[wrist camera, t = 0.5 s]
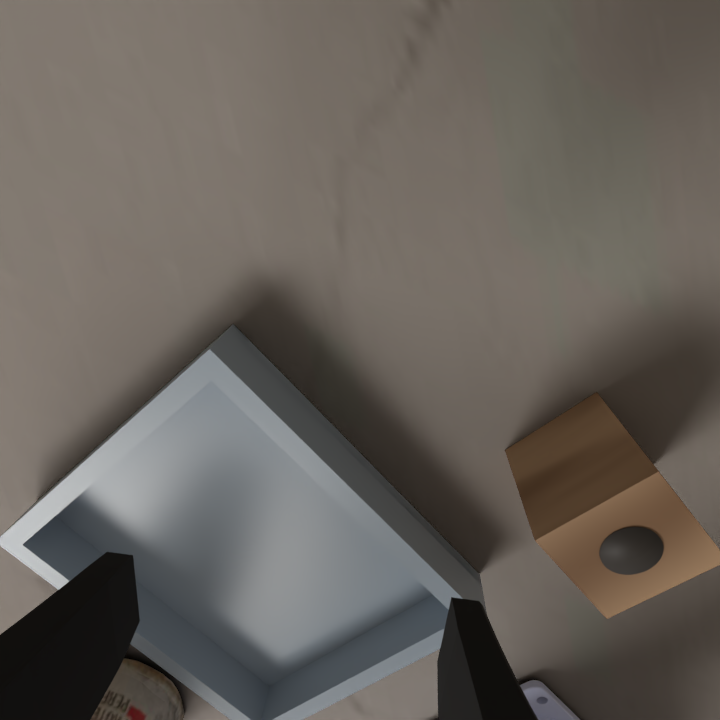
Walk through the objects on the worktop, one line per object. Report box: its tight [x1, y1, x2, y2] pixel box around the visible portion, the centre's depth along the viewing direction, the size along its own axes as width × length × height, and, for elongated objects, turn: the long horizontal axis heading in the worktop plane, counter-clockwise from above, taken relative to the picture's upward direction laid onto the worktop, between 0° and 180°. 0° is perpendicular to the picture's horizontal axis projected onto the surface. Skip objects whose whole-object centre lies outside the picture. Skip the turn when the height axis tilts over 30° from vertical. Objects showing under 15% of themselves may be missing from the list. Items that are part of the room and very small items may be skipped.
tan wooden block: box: [505, 392, 720, 619], centre depth 18 cm, size 4×4×5 cm
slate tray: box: [0, 324, 487, 720], centre depth 22 cm, size 15×13×2 cm
